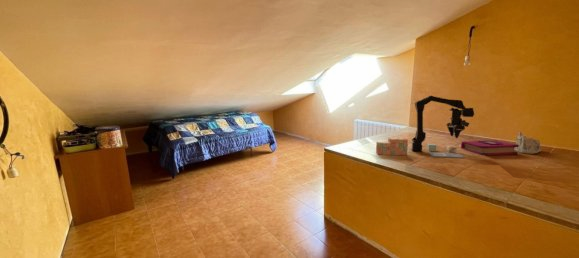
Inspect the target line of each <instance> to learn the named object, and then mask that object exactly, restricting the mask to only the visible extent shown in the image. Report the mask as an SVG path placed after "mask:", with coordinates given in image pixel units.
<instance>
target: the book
mask: <svg viewBox="0 0 579 258" xmlns="http://www.w3.org/2000/svg"><path fill="white" fill-rule="evenodd" d="M515 147H519V145H517V144H516V143H512V142H511V143H510V142H506V141H502V140H496V139H495V140H470V141H469V140H467V141H461V144H460V148H461V149H463V150H465V151H467V152H470V153H474V154H477V155H479V156H486V157H488V156H509V155H513V156H515V155H518V154H519V153H518V151H516V150H515Z"/></svg>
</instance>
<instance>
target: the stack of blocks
mask: <svg viewBox="0 0 579 258" xmlns="http://www.w3.org/2000/svg"><path fill="white" fill-rule="evenodd" d="M408 140H409V139H408V138H406V137H388V141H376V147H375V148H376V149H375V151H376V154H377V155H378V156H407V155H408V148H409V147H408V145H409V143H408Z"/></svg>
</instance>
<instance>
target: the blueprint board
mask: <svg viewBox="0 0 579 258" xmlns="http://www.w3.org/2000/svg"><path fill="white" fill-rule="evenodd" d="M427 154H428V155H430V156H431V157H432V158H447V159H448V158H449V159H450V158H451V159H465V158H466V157H465V156H464V155H462V154H460V153H459V152H456V153H447V152H439V151H438V152H437V151H428V152H427Z"/></svg>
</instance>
